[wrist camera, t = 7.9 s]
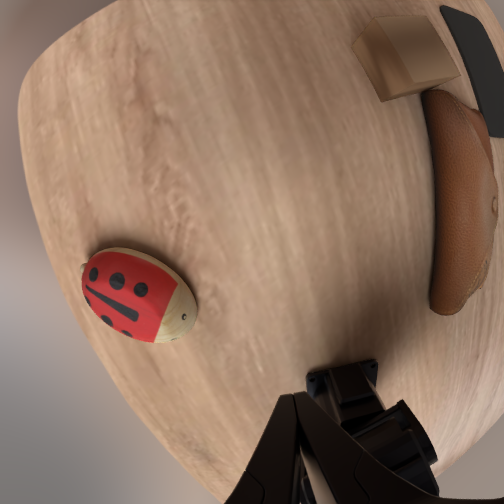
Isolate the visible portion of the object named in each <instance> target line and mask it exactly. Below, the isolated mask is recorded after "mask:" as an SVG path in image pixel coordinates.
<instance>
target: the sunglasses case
mask: <svg viewBox="0 0 504 504" xmlns="http://www.w3.org/2000/svg"><path fill="white" fill-rule="evenodd" d="M421 95H422V104H423V109H424V113H425V119H426V123H427V128H428V132H429V138H430V143H431V148H432V158H433V165H434V172H435V189H436V247H435V263H434V274H433V282H432V291H431V298H430V309H431V310H432V311H434V312H435V313H437V314H439V315H445V316H447V315H453V314H455V313H457V312H459V311H460V310H461V309H462V307H463V306H464V304H465V302H466V301H467V299H468V298H469V297H470V296H471V295H472V294H473V293H474V292H475V291H476V290H477V289H481V287H482V286H483V283H484V281H485V279H486V277H487V274H488V269H489V264H490V260H491V254H492V247H493V237H494V231H495V228H496V225H497V220H498V187H497V182H496V179H495V176H494V166H493V155H492V149H491V144H490V138H489V134H488V130H487V126H486V123H485V120H484V117H483V115H482V114H481V113H480V112H479V111H477V110H476V109H470V108H468V107H467V106H465V105H464V104H462V103H460V102H459V101H458V100H457V98H456V97H454V96H453V95H452V94H450V93H449V92H447V91H444V90H434V89H433V90H427V91H424V92H423V93H421Z"/></svg>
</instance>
